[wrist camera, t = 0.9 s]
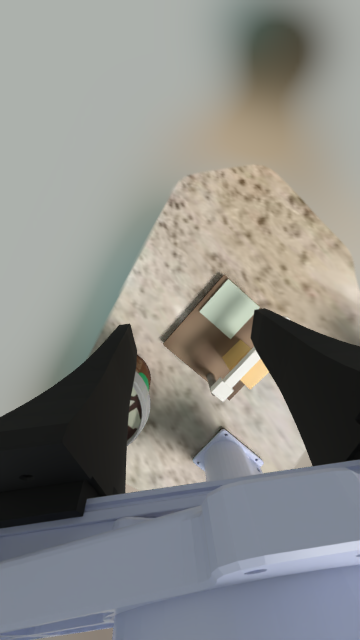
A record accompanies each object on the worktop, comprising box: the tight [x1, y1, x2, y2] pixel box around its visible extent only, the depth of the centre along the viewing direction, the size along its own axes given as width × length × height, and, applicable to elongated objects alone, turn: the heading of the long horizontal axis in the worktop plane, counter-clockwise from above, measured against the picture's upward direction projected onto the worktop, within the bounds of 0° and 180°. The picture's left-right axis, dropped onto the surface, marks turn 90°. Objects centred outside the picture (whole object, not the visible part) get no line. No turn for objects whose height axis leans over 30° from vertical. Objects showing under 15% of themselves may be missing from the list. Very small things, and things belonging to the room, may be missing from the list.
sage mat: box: [199, 279, 260, 339], centre depth 30 cm, size 6×6×1 cm
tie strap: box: [210, 316, 288, 402], centre depth 25 cm, size 2×13×1 cm, turn 139°
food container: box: [127, 355, 151, 446], centre depth 28 cm, size 12×6×10 cm, turn 149°
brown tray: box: [163, 275, 262, 400], centre depth 29 cm, size 14×14×6 cm
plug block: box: [222, 340, 269, 390], centre depth 29 cm, size 4×4×5 cm
